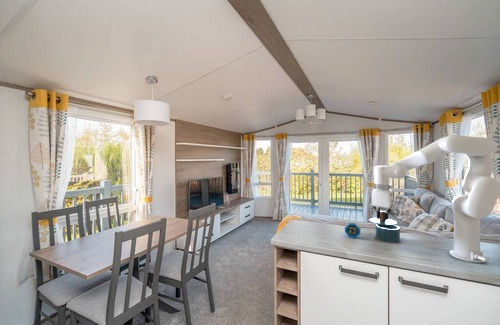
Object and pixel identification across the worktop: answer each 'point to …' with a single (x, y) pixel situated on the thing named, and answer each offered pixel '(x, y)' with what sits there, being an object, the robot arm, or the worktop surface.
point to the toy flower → (352, 230)
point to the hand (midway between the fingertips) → (382, 218)
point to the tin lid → (382, 220)
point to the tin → (388, 233)
